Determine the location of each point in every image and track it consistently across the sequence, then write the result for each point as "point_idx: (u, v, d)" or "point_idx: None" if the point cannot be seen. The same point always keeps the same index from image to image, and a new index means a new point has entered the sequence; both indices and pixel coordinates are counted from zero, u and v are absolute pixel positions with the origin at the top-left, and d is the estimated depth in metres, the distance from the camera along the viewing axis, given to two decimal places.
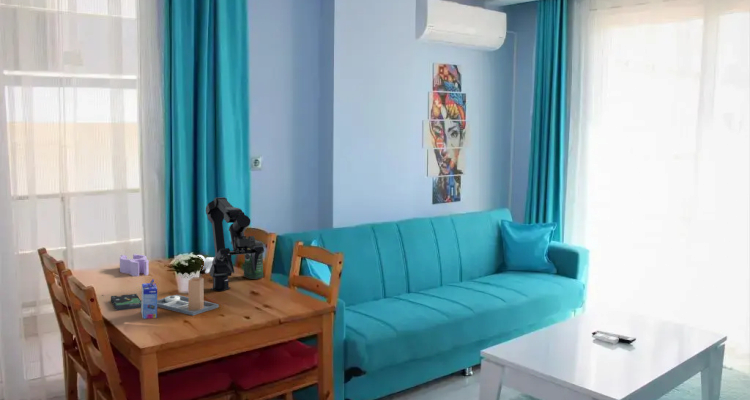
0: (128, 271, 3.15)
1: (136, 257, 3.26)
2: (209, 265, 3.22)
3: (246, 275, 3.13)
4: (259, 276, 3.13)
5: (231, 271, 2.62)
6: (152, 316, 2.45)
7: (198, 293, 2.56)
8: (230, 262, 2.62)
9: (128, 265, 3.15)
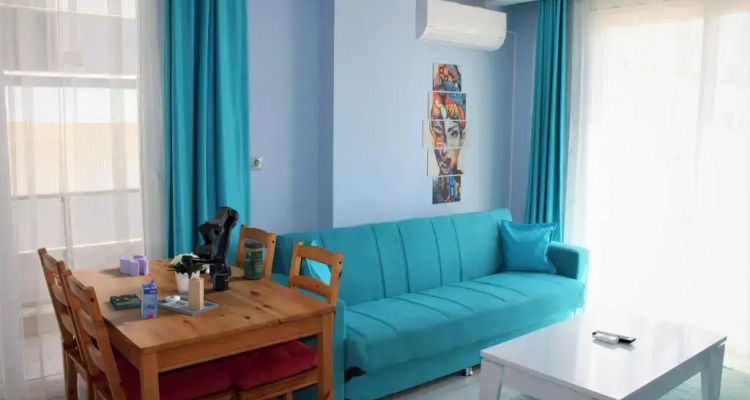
0: (128, 271, 3.15)
1: (136, 257, 3.25)
2: None
3: (246, 275, 3.13)
4: (259, 276, 3.13)
5: None
6: (152, 316, 2.45)
7: (198, 293, 2.56)
8: (188, 268, 2.64)
9: (128, 265, 3.14)
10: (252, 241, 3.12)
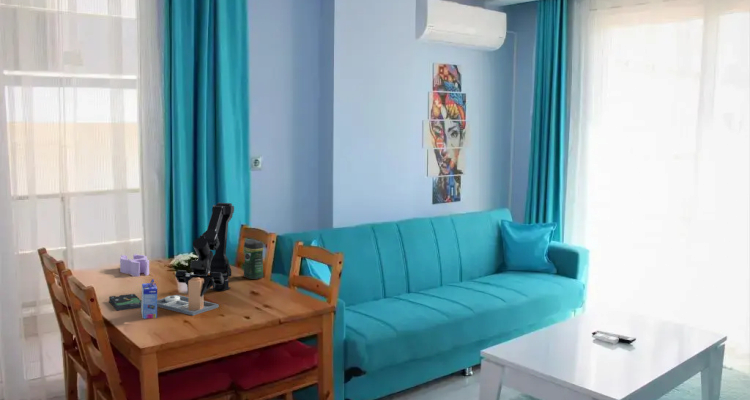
0: (129, 271, 3.15)
1: (137, 257, 3.25)
2: None
3: (246, 275, 3.13)
4: (259, 276, 3.13)
5: None
6: (152, 316, 2.45)
7: (198, 293, 2.56)
8: None
9: (129, 265, 3.14)
10: (252, 241, 3.12)
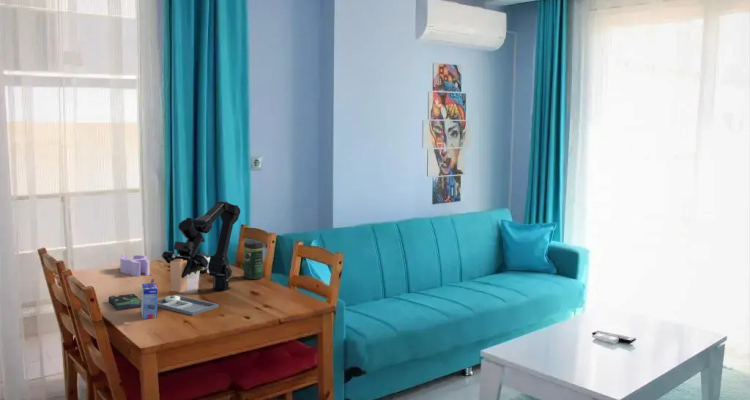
0: (129, 271, 3.15)
1: (137, 257, 3.25)
2: None
3: (246, 275, 3.13)
4: (259, 276, 3.13)
5: None
6: (152, 316, 2.45)
7: (179, 274, 2.57)
8: None
9: (129, 265, 3.14)
10: (252, 241, 3.12)
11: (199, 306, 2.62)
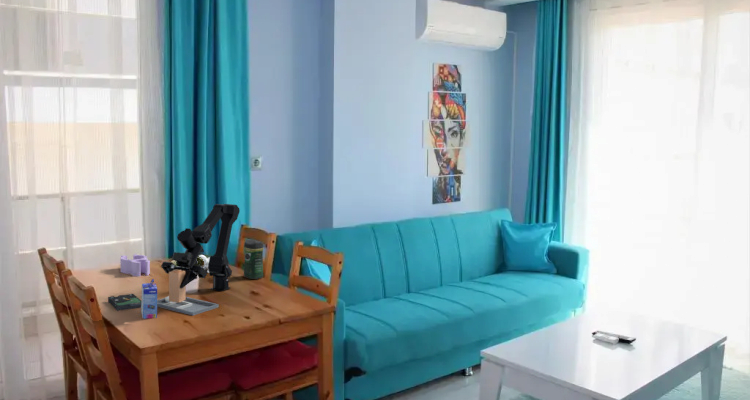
0: (129, 271, 3.15)
1: (137, 257, 3.25)
2: None
3: (246, 275, 3.13)
4: (259, 276, 3.13)
5: None
6: (152, 316, 2.45)
7: (177, 285, 2.57)
8: None
9: (129, 265, 3.14)
10: (252, 241, 3.12)
11: (199, 306, 2.62)
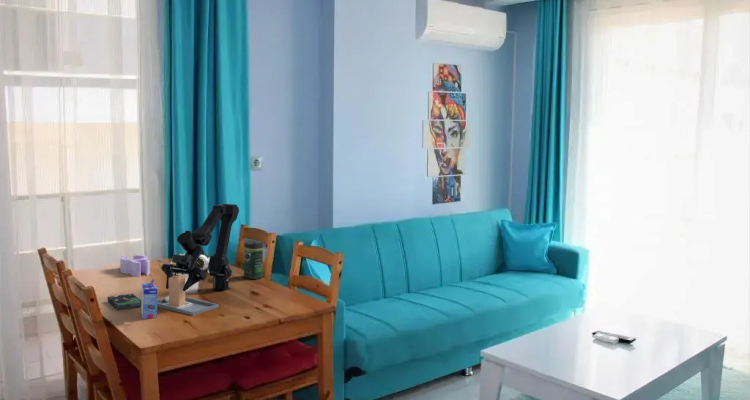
0: (129, 271, 3.14)
1: (137, 257, 3.25)
2: None
3: (246, 275, 3.13)
4: (259, 276, 3.13)
5: None
6: (152, 316, 2.45)
7: (177, 291, 2.58)
8: (167, 277, 2.62)
9: (129, 265, 3.14)
10: (252, 241, 3.12)
11: (199, 306, 2.62)
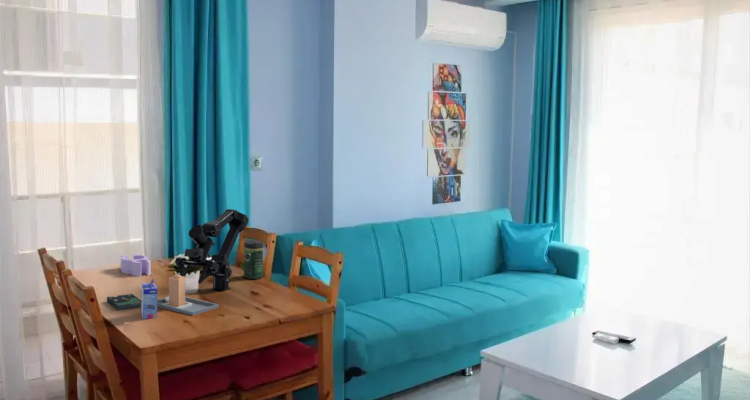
0: (130, 271, 3.14)
1: (137, 257, 3.25)
2: None
3: (246, 275, 3.13)
4: (259, 276, 3.13)
5: None
6: (152, 316, 2.45)
7: (177, 291, 2.58)
8: (180, 271, 2.71)
9: (130, 265, 3.14)
10: (252, 241, 3.12)
11: (199, 306, 2.62)
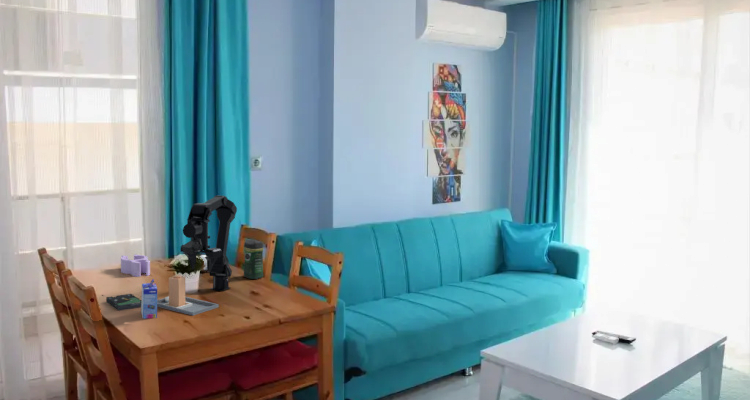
0: (129, 271, 3.14)
1: (137, 257, 3.25)
2: None
3: (246, 275, 3.13)
4: (259, 276, 3.13)
5: None
6: (152, 316, 2.45)
7: (177, 291, 2.58)
8: (189, 259, 2.73)
9: (129, 265, 3.14)
10: (252, 241, 3.12)
11: (199, 306, 2.62)
